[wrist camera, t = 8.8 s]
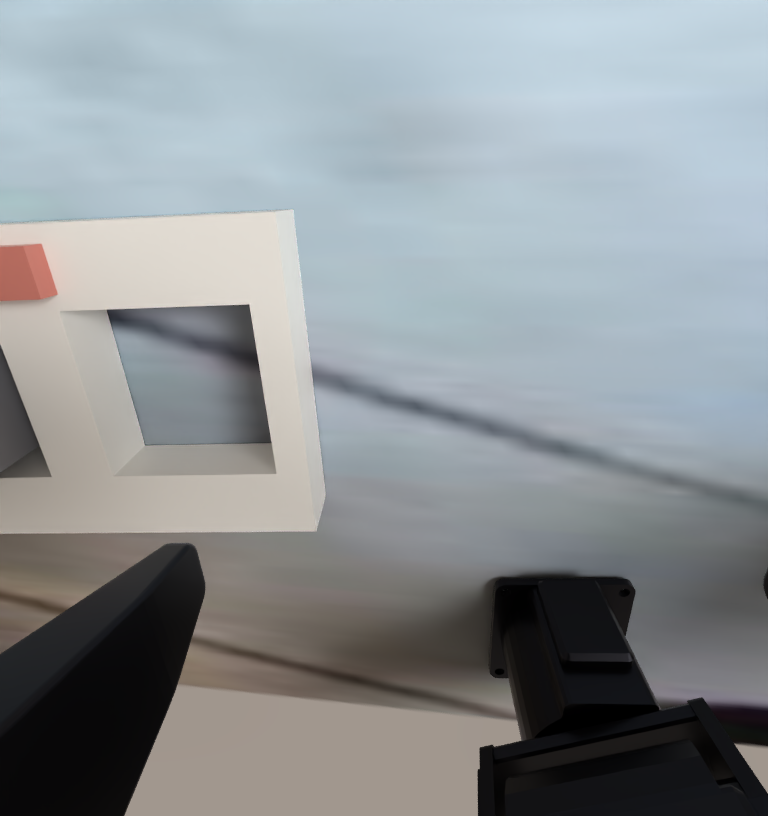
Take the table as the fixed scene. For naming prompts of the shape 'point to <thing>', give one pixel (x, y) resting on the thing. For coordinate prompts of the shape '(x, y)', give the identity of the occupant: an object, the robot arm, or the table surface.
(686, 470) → the table surface
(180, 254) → the faceplate
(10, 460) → the plug
